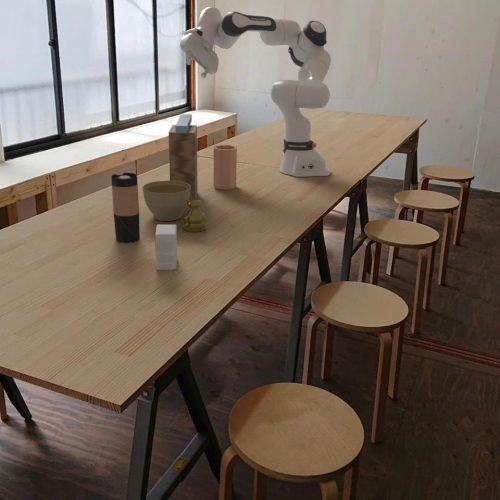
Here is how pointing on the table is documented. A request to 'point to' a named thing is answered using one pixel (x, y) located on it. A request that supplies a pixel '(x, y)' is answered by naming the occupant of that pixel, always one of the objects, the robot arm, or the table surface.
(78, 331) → the table surface
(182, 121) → the lid slat
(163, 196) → the planter bowl
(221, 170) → the crock
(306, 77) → the robot arm
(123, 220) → the travel mug
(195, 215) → the olive green tiered figure
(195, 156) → the stand
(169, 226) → the small box
